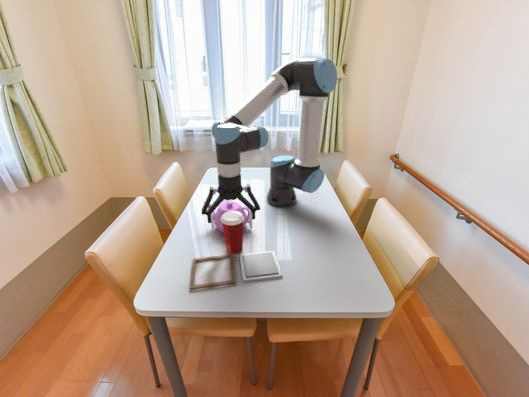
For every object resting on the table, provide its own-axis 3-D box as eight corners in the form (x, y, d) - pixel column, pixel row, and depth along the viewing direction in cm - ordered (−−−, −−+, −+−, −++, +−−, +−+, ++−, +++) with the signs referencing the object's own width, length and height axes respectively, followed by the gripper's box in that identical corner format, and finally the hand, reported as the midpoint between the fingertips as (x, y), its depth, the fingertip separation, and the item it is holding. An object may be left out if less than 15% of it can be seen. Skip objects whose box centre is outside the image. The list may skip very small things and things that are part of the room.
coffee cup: (248, 245, 103) (247, 211, 96) (240, 258, 96) (238, 223, 89) (229, 241, 105) (226, 208, 99) (219, 253, 99) (216, 219, 92)
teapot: (202, 235, 109) (198, 209, 103) (210, 217, 122) (208, 193, 116) (250, 237, 108) (249, 211, 102) (254, 219, 120) (253, 195, 115)
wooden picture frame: (233, 255, 98) (233, 253, 97) (237, 285, 84) (237, 282, 84) (192, 260, 95) (191, 257, 95) (189, 291, 82) (188, 289, 82)
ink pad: (274, 252, 99) (274, 249, 99) (282, 277, 88) (282, 274, 87) (239, 256, 97) (239, 253, 96) (243, 282, 86) (243, 279, 85)
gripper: (264, 167, 92) (264, 220, 101) (190, 171, 88) (197, 225, 97) (268, 175, 85) (267, 230, 95) (189, 180, 81) (196, 237, 91)
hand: (232, 228), depth 96 cm, fingers open, 13 cm apart
